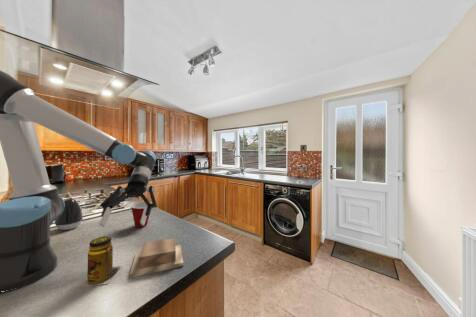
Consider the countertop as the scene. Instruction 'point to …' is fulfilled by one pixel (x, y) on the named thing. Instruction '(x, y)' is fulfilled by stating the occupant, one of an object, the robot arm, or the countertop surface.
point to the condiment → (100, 262)
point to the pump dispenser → (69, 215)
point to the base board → (156, 268)
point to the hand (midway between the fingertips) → (122, 224)
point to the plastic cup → (138, 213)
